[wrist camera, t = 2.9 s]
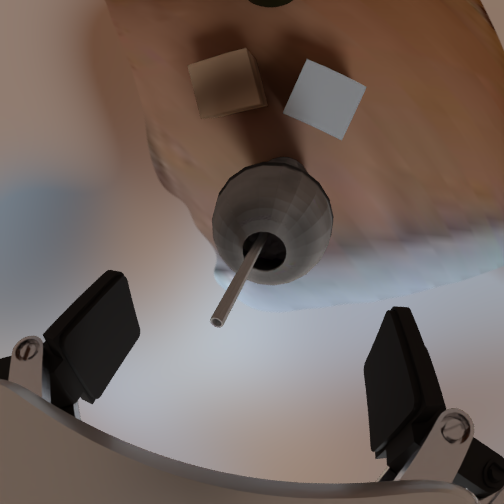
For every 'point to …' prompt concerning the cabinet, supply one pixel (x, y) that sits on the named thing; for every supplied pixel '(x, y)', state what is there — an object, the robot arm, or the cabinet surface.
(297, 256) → the beverage cup
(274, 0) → the wine bottle
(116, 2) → the cabinet surface
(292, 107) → the light grey cube
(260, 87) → the walnut block
